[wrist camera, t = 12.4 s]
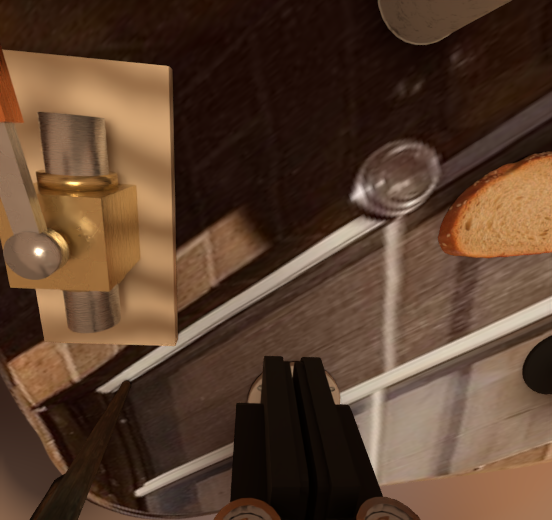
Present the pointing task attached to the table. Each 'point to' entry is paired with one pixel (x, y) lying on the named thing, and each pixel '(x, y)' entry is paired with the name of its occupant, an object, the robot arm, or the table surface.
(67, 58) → the mounting board
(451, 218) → the bread slice
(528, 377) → the wine glass
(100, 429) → the decorative torch
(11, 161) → the valve lever
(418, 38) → the grey stone cylinder
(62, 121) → the valve body
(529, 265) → the table surface
